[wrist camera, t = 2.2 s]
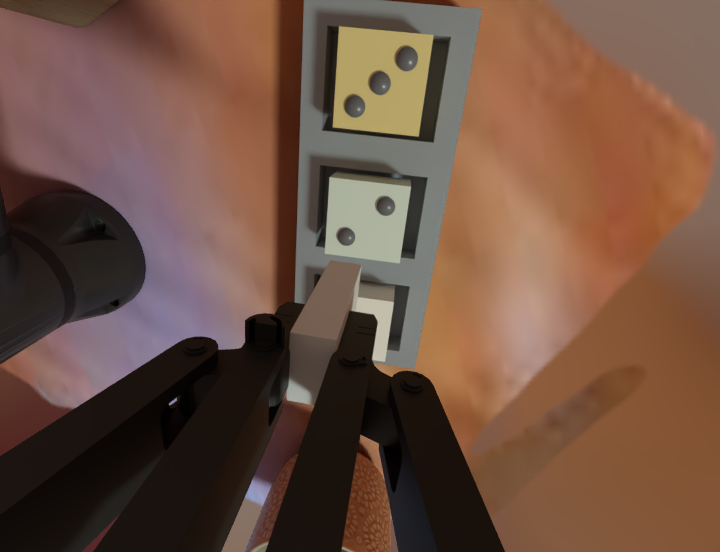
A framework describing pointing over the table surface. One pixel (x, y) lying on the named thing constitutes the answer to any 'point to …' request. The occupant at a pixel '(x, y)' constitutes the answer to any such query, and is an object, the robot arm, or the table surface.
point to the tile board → (382, 150)
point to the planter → (364, 519)
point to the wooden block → (61, 10)
